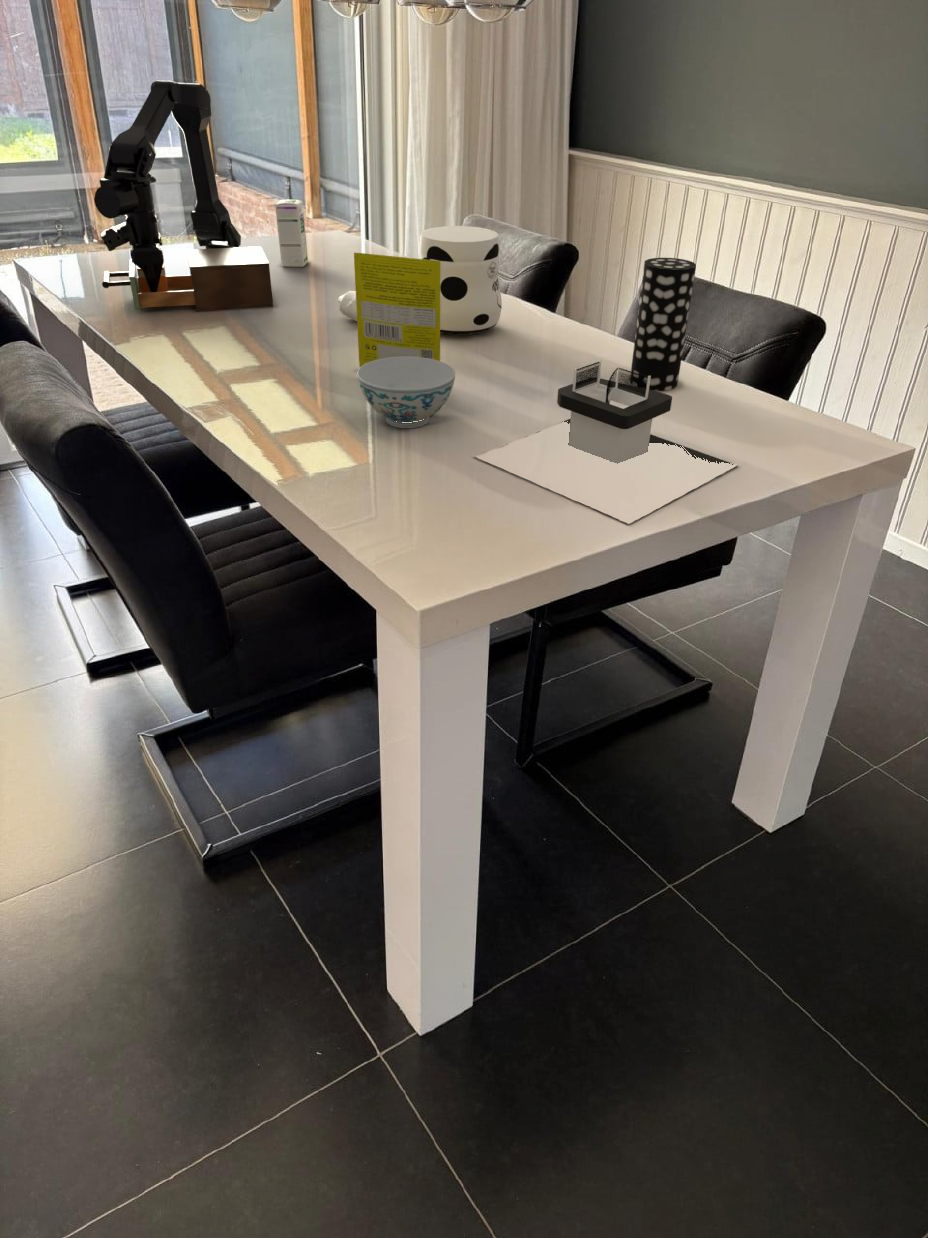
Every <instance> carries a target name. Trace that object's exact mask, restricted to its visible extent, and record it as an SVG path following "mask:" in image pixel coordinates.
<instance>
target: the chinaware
mask: <svg viewBox="0 0 928 1238" xmlns="http://www.w3.org/2000/svg"><path fill="white" fill-rule="evenodd" d="M359 367H360V366H359ZM356 377H357V380H358V385H359V387H360V390H361V392H362V395H363V396H364V399H365V400H366V402H367V403H368V404H369V406H370V407H371V408H372V409H373V410H374V411H375V412H376V413H378V414H379V415H381V416H382V417H384V418H385V422H386V423H387V425H389V426H392V427H394V428H395V427H396V428H400V429H413V428H419V427H422V426H424V425H426V424H427V423H428V422H429V418H430V417H432V416H433V415H435V414H436V413H437V412H438V411H439V410H440V409H442V407H443V406H444V405H445V404H446V402H447V401H448V399H449V397H450V395H451V392H452V390H453V387H454V384H455V379H456V371H455V369H454V368H453V367H452V366H451V365H449V364H448V363H446V362H443V361H442V360H440V361H438V360H434V359H429V358H422V357H390V358H383V359H378V360H374V361H371V362H369V363H366V364H364V365H363V366H361V367H360V368H358V369H357V372H356ZM423 419H424V420H423ZM419 420H422V421H419ZM396 421H397V422H396ZM413 421H418V422H413ZM402 422H412V423H402Z"/></svg>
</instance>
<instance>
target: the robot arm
mask: <svg viewBox="0 0 928 1238" xmlns="http://www.w3.org/2000/svg"><path fill="white" fill-rule="evenodd" d="M211 102H212V100H211V95H210V92H209V90H208V89H207V88H206V87H205V85H204V84H202V83H190V82H189V83H188V82H187V83H185V82H175V81H173V80H155V81H153V82H151V85H150V92H149V93H148V96H147V97H146V99H145V101H144V102H143V104H142V106H141V108H140V110H139V112H138V114H137V116H136V117H135V119H134V120H133V122H132V124H131V126H130V127H129V128H127V129H125V130H124V131H122V132H120V133H119V134H118V135H117V136H116V137H115V138H114V139H113V140H112V142H111V144H110V145H109V149H108V156H107V161H106V165H105V170H104V174H103V178H101V179H99V186H100V187H98V188H97V189H96V191H95V193H94V198H93V202H94V205H95V208H96V210H97V211H98V213H100V215H101V216H103V217H105V218H107V219H116V218H119V217H122V216H125V219H124V220H125V221H124V222H122V223H119V224H117V225H115V226H110V228H108V229H107V228H106V229H105V230H103V231H102V232H101V233H100V238H101V241H102V242H103V245H104V246H105V247H106V249H107V250H108V252H113V251H114V250H116V248H118V247H119V248H120V247H121V246H124V245H126V244H129V246H131V248H130V250H129V251H130V252H129V253H130V259H131V260H132V263H133V264H134V265H136V267H137V266H138V267H139V268H141V269H142V271H143V273H144V276H145V278H146V281H147V283H148V286H149V288H150V291H151V292H157V290H158V285H159V281H160V276H161V272H162V267H163V264H164V263H165V259H164V251H163V240H162V235H161V233H160V232H159V227H158V221H157V219H158V218H157V214H156V208H155V201H154V196H153V195H154V194H153V189H152V184H154V183H157V179H156V177H154V176H153V175H152V174H151V173H150V172H151V171H152V168H153V165H154V163H155V159H156V156H157V153H156V149H155V144H156V142H157V139H158V138H159V136H160V135H161V132H162V130H163V128H164V126H165V125H166V123H167V122H168V119H169V117H170V115H171V114H172V115H171V116H172V118H173V119H174V121H175V122H176V124H177V125H178V126H179V128H180V129H181V130H182V132H183V136H184V141H185V146H186V147H185V148H186V152H187V157H188V162H189V166H190V172H191V177H192V183H193V187H194V192H195V197H196V204H195V207H194V210H192V211H190V219H191V223H192V230H193V232H194V234H195V237H196V240H197V243H198V246H199V247H205V249H216V248H239V247H241V245H242V236H241V234H240V233H239V231H238V230H237V229H236V227H235V226H234V224H233V223H232V221H231V217H230V212H229V210H228V209H227V207H226V205H224V203H223V202H222V201H221V200H220V196H219V191H218V186H217V180H216V174H215V168H214V163H213V157H212V152H211V145H210V141H209V135H208V126H209V123H210V120H211V118H212V106H211V104H212V103H211Z"/></svg>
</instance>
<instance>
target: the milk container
mask: <svg viewBox="0 0 928 1238" xmlns="http://www.w3.org/2000/svg"><path fill="white" fill-rule="evenodd" d="M418 246H419V247H418V248H419V255H418V259H425V260H434V261H440V334H446V335H447V334H448V335H454V336H455V335H465V336H466V335H472V334H473V335H474V334H479V333H483V332H487V331H490V330H491V329H493V328H494V327H496V325H497V324H498V323H499V321H500V318H501V315H502V307H503V305H502V304H503V302H502V300H503V299H502V293H501V291H500V286H499V285H500V284H499V267H500V255H499V254H500V236H499V233H498V232H496V231H495V230H493V229H489V228H485V227H479V226H469V225H446V226H444V225H443V226H436V227H430V228H426V229H424V230H422V231H421V233H420V235H419V245H418Z"/></svg>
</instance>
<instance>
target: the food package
mask: <svg viewBox="0 0 928 1238" xmlns="http://www.w3.org/2000/svg"><path fill="white" fill-rule="evenodd" d="M353 258H354V259H353V263H354V285H355V286H354V287H355V291H356V307H357V322H356V324H357V346H358V365H359V366H358V367H359V368H360V367H361V366H363V365H364V364H366V363H369V362H371V361H374V360H378V359H383V358H390V357H422V358H429V359H434V360H438V361H441V333H440V261H434V260H425V259H419V258H414V257H405V256H396V255H383V254H374V253H366V252H365V253H363V252H353ZM359 368H358V369H359Z"/></svg>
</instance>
